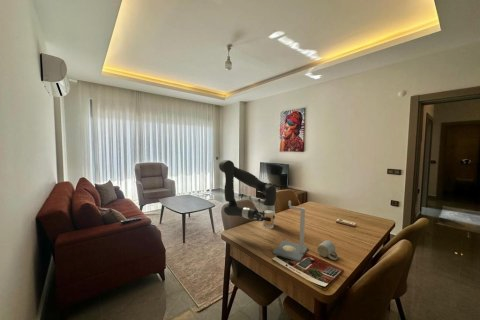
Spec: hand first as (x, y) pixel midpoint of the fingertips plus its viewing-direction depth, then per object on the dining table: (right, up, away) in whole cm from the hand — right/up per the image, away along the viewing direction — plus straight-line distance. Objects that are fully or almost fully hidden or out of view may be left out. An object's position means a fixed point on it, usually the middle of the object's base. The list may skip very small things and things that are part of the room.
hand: (272, 218), depth 128 cm
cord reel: (-2, -6, +2) cm, 7 cm away
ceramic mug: (+31, -19, -10) cm, 38 cm away
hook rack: (+10, -18, -5) cm, 22 cm away
